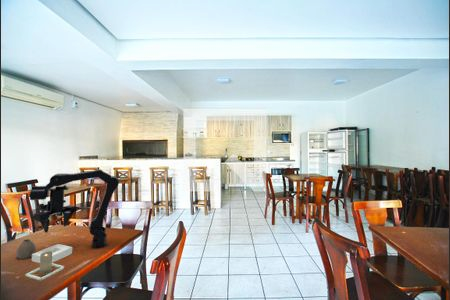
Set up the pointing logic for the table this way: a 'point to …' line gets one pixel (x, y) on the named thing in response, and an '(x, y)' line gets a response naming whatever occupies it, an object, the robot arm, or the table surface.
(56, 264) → the tray
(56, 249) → the white block with recess
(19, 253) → the vase
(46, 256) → the plug
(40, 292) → the table surface
